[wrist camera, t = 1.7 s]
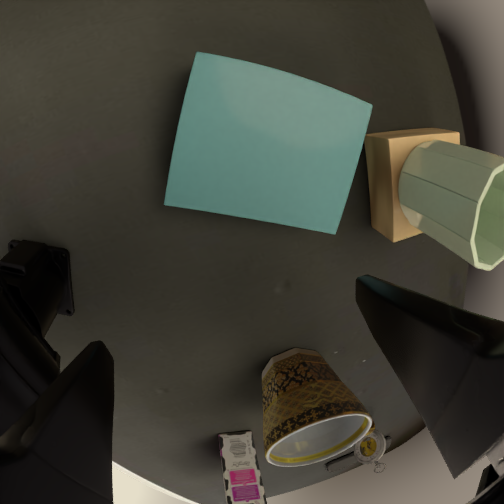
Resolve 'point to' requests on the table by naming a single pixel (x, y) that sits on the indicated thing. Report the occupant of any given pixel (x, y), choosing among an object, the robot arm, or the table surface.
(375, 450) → the pocket watch
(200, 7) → the table surface
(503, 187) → the pale green faceted cup
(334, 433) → the ceramic cup
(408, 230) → the tan block
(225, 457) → the candy bar box
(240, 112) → the box
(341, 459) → the phone
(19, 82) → the table surface
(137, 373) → the table surface
